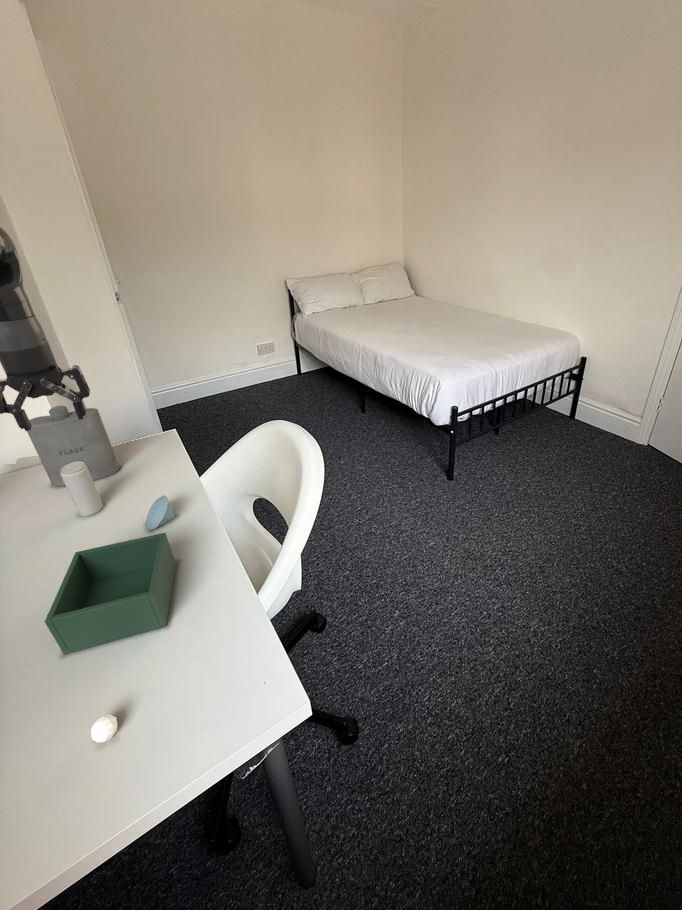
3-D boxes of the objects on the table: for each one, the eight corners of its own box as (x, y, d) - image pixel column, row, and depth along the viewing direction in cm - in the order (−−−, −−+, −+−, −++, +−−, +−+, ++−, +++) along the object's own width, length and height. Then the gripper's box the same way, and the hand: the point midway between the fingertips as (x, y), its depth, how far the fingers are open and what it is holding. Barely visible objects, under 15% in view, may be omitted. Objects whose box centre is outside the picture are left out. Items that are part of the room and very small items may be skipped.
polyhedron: (125, 721, 56) (117, 708, 55) (113, 747, 53) (105, 734, 52) (103, 722, 56) (95, 710, 55) (90, 748, 53) (82, 736, 52)
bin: (64, 655, 65) (44, 622, 61) (90, 583, 77) (75, 552, 73) (166, 626, 69) (153, 594, 65) (175, 562, 81) (165, 532, 77)
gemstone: (183, 493, 95) (161, 487, 92) (186, 516, 90) (164, 510, 86) (163, 517, 96) (142, 512, 93) (166, 541, 91) (143, 536, 87)
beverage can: (74, 514, 94) (53, 471, 89) (94, 502, 98) (75, 459, 93) (88, 519, 93) (68, 475, 87) (108, 506, 97) (90, 463, 91)
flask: (49, 490, 103) (14, 419, 93) (55, 478, 107) (22, 409, 98) (118, 475, 108) (92, 406, 99) (120, 464, 113) (95, 397, 104)
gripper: (70, 332, 80) (98, 407, 87) (-26, 344, 74) (13, 425, 81) (67, 341, 74) (97, 421, 81) (-38, 356, 68) (5, 441, 75)
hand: (55, 423), depth 81 cm, fingers open, 8 cm apart
